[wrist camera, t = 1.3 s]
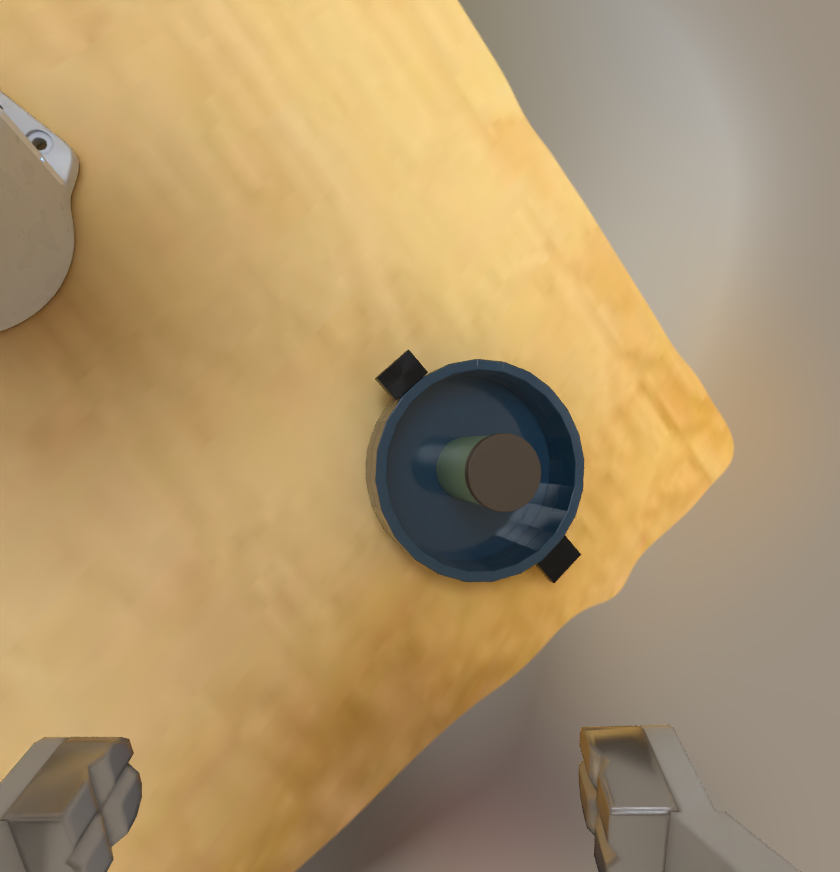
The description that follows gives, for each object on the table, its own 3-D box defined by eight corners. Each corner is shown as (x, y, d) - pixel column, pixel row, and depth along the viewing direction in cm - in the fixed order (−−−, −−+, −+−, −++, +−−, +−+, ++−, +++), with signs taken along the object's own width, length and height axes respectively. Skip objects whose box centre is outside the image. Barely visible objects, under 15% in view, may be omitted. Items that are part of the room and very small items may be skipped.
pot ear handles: (374, 378, 41) (376, 377, 40) (406, 351, 41) (408, 349, 41) (549, 581, 44) (554, 583, 43) (576, 552, 45) (581, 554, 44)
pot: (321, 461, 43) (327, 463, 39) (472, 327, 46) (492, 315, 42) (458, 611, 46) (477, 628, 41) (591, 473, 49) (622, 476, 45)
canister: (421, 466, 45) (452, 470, 37) (468, 421, 46) (508, 416, 38) (464, 514, 46) (502, 528, 38) (509, 470, 47) (556, 474, 39)
